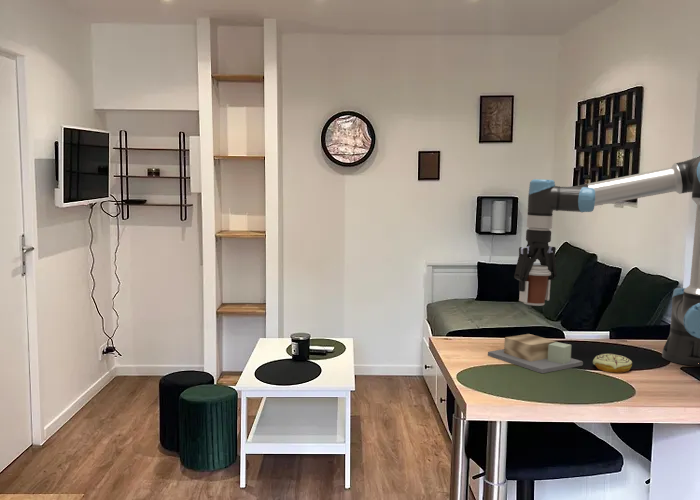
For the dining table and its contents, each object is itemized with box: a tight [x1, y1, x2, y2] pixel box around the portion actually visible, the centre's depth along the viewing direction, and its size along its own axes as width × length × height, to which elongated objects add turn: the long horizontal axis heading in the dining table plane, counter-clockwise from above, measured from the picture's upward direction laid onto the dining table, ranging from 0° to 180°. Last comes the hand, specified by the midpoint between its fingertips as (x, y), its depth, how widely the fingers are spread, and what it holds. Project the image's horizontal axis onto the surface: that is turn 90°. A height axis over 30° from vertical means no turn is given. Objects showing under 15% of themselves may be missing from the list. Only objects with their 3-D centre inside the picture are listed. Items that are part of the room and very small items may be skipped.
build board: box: [487, 348, 584, 374], centre depth 204 cm, size 22×18×1 cm
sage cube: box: [548, 341, 572, 364], centre depth 199 cm, size 5×5×5 cm
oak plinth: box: [503, 333, 557, 361], centre depth 205 cm, size 11×11×5 cm
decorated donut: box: [592, 353, 633, 374], centre depth 197 cm, size 10×11×4 cm
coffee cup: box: [523, 264, 551, 307], centre depth 206 cm, size 9×9×12 cm
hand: (534, 300), depth 207 cm, fingers closed on coffee cup, 9 cm apart
